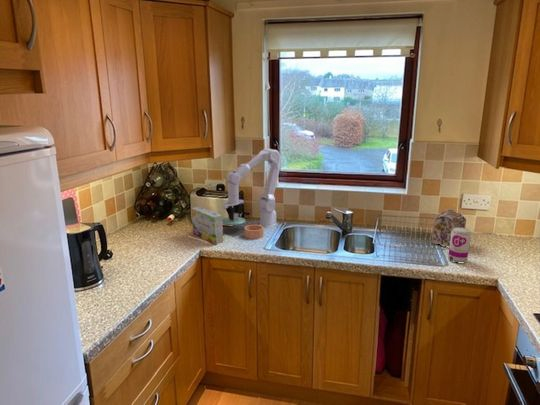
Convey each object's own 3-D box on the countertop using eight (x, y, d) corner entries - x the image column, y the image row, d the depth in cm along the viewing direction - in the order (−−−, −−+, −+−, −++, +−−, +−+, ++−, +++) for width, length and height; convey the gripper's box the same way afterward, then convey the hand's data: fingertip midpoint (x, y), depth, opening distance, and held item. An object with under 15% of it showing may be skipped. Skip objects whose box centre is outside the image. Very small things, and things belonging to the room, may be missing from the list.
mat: (233, 224, 239) (233, 223, 239) (253, 230, 231) (253, 229, 230) (213, 231, 227) (213, 230, 227) (234, 237, 218) (234, 236, 218)
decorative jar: (452, 249, 205) (457, 215, 200) (430, 243, 214) (434, 209, 209) (463, 244, 213) (468, 210, 208) (441, 238, 221) (445, 205, 217)
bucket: (252, 232, 227) (252, 223, 226) (267, 236, 221) (267, 227, 220) (240, 237, 219) (240, 228, 218) (255, 241, 213) (255, 232, 212)
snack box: (191, 234, 222) (190, 207, 218) (200, 232, 226) (200, 206, 222) (214, 245, 207) (214, 216, 203) (223, 243, 210) (223, 214, 207)
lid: (233, 216, 236) (233, 208, 235) (250, 221, 229) (250, 212, 227) (216, 222, 226) (216, 213, 225) (234, 226, 219) (234, 218, 217)
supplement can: (464, 265, 186) (468, 234, 183) (445, 260, 192) (449, 230, 188) (469, 260, 192) (473, 229, 188) (451, 255, 198) (455, 225, 194)
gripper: (236, 190, 231) (237, 214, 235) (218, 195, 220) (219, 220, 224) (246, 192, 227) (246, 216, 231) (228, 197, 216) (228, 222, 220)
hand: (233, 218), depth 227 cm, fingers closed on lid, 3 cm apart
